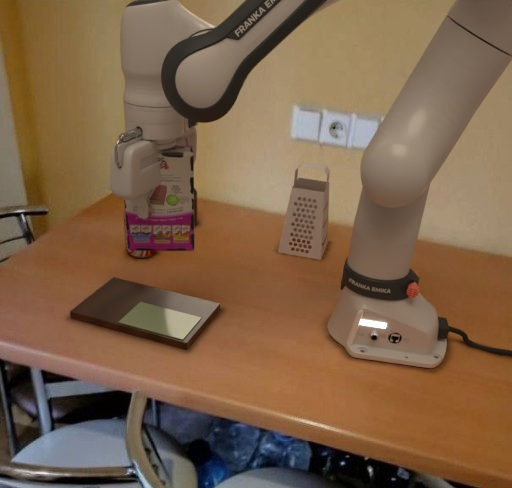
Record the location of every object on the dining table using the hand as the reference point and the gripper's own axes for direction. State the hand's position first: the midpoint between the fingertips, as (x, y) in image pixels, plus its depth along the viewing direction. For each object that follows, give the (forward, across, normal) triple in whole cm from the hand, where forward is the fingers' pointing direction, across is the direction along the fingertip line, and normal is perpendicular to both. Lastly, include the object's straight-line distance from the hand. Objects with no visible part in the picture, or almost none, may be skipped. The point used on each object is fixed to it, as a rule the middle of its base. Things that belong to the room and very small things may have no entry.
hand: (157, 208), depth 92 cm
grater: (+23, +47, -12) cm, 54 cm away
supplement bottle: (+23, +44, +20) cm, 54 cm away
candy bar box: (+7, 0, 0) cm, 7 cm away
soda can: (+23, +24, +20) cm, 39 cm away
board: (+23, +2, +4) cm, 24 cm away
